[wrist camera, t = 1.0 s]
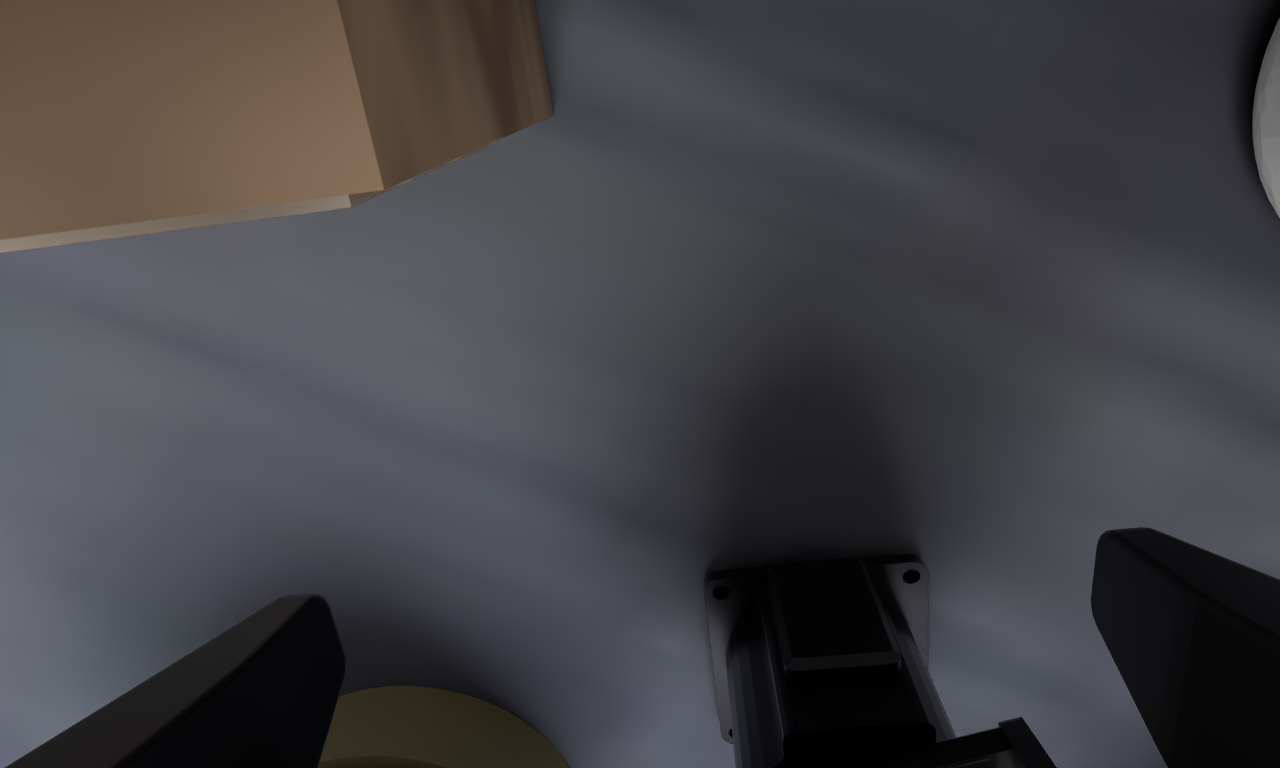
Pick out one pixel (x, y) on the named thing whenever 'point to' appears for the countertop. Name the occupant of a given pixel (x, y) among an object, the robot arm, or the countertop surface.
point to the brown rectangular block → (245, 106)
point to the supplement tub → (1268, 121)
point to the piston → (430, 732)
